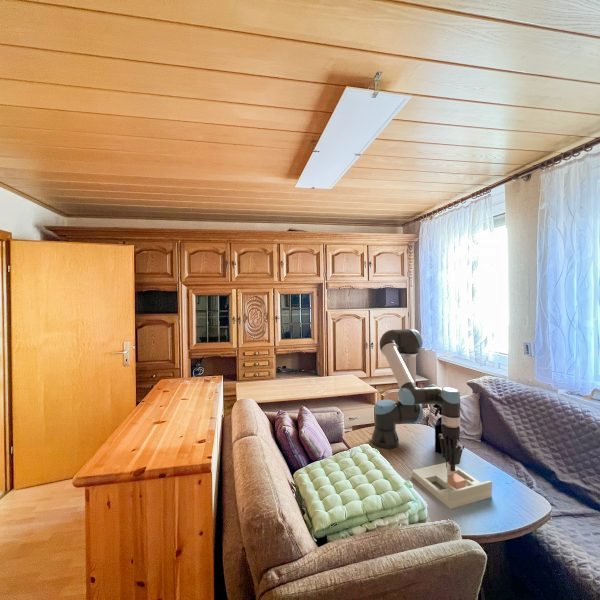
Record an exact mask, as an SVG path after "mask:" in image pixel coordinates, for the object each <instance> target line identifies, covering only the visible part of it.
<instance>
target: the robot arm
mask: <svg viewBox="0 0 600 600" xmlns="http://www.w3.org/2000/svg"><path fill="white" fill-rule="evenodd" d="M422 348H423V338H422V335H421V333H420V332H419V331H418V330H417V329H411V328H405V329H404V328H403V329H389V330H387V331H385V332H384V333H383V334H382V335H381V337H380V340H379V350H380V352H381V354H382V355H383V356H384V357H385V358H386V361H387V363H388V365H389V367H390V369H391V372H392V375H393V376H394V378H395V381H396V383H397V384H398V387H399V389H398V393H397V395H398V397H397V402H396V401H394V400H392V399H380V400H378V401H376V402H375V404H374V410H373V412H374V428H373V433H372V435H371V442H372V444H373V445H374V446H376V447H378V448H381V449H388V450H389V449H395V448H398V446H399V444H400V439H399V436H398V433H397V428H396V425H407V424H412V425H413V424H417V423H420V422H421V421H422V419H423V415H424V409H423V406H422V405H431V404H432V405H433V404H434V405H435V404H438V405H440V406H441V415H440V417H441V422H442V424H441V431H442V434H438V437H439V440H440V446H441V452H442V454H441V457H442V459H445V462H446V468H447V476H448V475H452V474H454V471H455V466H457V465H460V462H461V458H462V455H463V454H462V453H463V450H464V449H465V445H464V444H463V445H462V444H461V442H460V441H461V440H460V434H461V393H460V390H459V389H457V388H453V387H452V388H451V387H448V388H447V387H442V386H439V385H438V384H437V385H436V384H433V383H432V384H430V385H429V384H428V385H427V386H426V387H425V386H424V387H418V386H417V384H416V378H417V377H416V356H417V355H418V354H419V351H420V350H421V349H422Z"/></svg>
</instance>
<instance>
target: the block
mask: <svg viewBox="0 0 600 600" xmlns="http://www.w3.org/2000/svg"><path fill="white" fill-rule="evenodd" d="M447 482H448V483H449V484H450V485H452V486H453V487H454V488H456V489H459V488H463V487H466V480H465V479H464V478H462V477H461V476H460V475H458V474H457V473H456V474H452V475H448V476H447Z"/></svg>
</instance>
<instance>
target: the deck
mask: <svg viewBox="0 0 600 600" xmlns="http://www.w3.org/2000/svg"><path fill="white" fill-rule="evenodd" d="M456 473H457V474H458V475H460V476H461V477H462V478H464V479H465V480H466V487H463V488H459V489H456V488H454V487H453V486H452V485H450V484H449V483H448V482H447V468H446V461H444V462H443V463H438V464H433V465H430V466H429V465H428V466H426V467H425V466H424V467H420V468H417V469H412V470H411V476H412V477H411V478H413V479H414V480H415V481H417V482H418V483H419V484H420V485H421V486H422V487H424V488H425V489H426V490H427V491H429V493H431V494H432V495H433V496H434V497H435V498H437V499H438V500H439V501H440V502H441V503H442V504H443V505H445V506H446V507H447V508H448V509H450V510H452V509H455V508H459V507H463V506H466V505H469V504H472V503H476V502H479V501H482V500H486V499H489V498H492V497H493V495H492V494H493V493H492V492H493V488H492V487H493V483H492V480H486V481H482V482H481V481H479V480H478V479H477V478H475V477H473V476H472V475H470V474H469V473H467V471H464V470H463V469H461V468H460V467H458V466H457V465H455V471H454V474H456Z"/></svg>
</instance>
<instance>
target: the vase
mask: <svg viewBox="0 0 600 600" xmlns="http://www.w3.org/2000/svg"><path fill="white" fill-rule="evenodd" d="M446 388H449V387H446ZM450 388H453V387H452V386H450ZM432 408H434V409H436V410H435V412H434V417H435V418H437V415H438V414H439V415H440V417H439V418H437V420H436V422H435V424H434V453H438V454H441V455H442V452H441V446H440V440H439V437H438V434H442V431H441V424H442V422H441V406H440V405H438V404H434V405H432Z"/></svg>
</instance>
